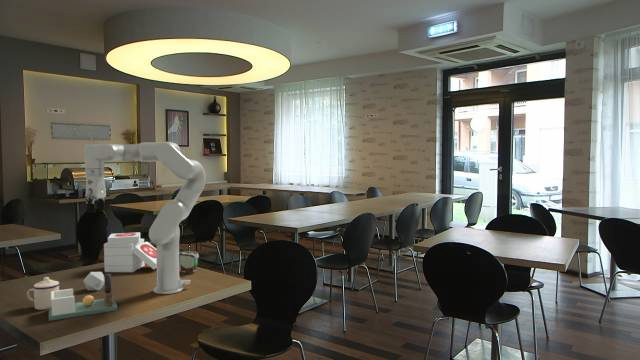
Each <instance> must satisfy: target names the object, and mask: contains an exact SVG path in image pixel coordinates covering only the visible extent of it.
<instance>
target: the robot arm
mask: <svg viewBox="0 0 640 360" xmlns="http://www.w3.org/2000/svg"><path fill="white" fill-rule="evenodd" d="M181 152H182V151H181V148H180V146H179V145H178V144H177V143H175V142H172V141H162V142H159V141H158V142H157V141H156V142H155V141H154V142H153V141H152V142H149V141H148V142H140V143H135V144H133V143H131V144H119V143H118V144H117V143H103V144H86V145H85V146H84V172H85V173H84V174H85V177H86V178H85V179H86V180H85V193H84V194H85V195H84V196H85V201H86V202H85V203H86V213H88V214H94V213H96V211H105V209H106V208H105V205H106V204H105V203H106V202H105V201H106V200H105V198H106V196H107V187H106V179H105V161H106V162H126V161H127V162H131V161H132V162H135V161H136V162H142V163H144V162H145V163H147V162H148V163H149V162H150V163H154V162H155V163H156V162H157V163H159V162H160V163H161V164H163V166H164V167H166V168H167V169H168V170H169V172H171V173H172V174H173V175H174V176H176V177H177V178H179V179H181V180H185V183H184V184H183V185H182V186H181V188H180V190H179V192H178V193H177V194H176V196H175V198H174V199H173V200H170V201H168V202H166V203H165V204H164V205H163V207H162V208H161V209H160V211H159V213H158V214H157V216H156V218H155V220H154V221H153V222H152V225H150V228H149V231H148V238H149V240H150V242H151V243H153V244H155V245H156V247H155V248H156V263H157V268H156V287H154V288H153V289H152V290H153V293H154V294H158V295H171V294H175V293H180V292H181V291H183V290H184V286H185V285H190V284H191V279H186V278H185V279H181V278H180V259H179V252H180V237H181V230H180V226H179V225H180V223H181V222H182V221H184V220H186V219H187V218H188V217H189V215H190V213H191V212H192V209H193V208H194V206H195V205H196V203H197V201H198V200H199V198H200V196H201V194H202V192H203V191H204V189H205V186H206V183H207V182H206V181H207V175H206V170H205V168H204V166H203V165H202V164H201V163H200V162H199V161H198V160H195V159H188V158H186V157H185V155H184V154H182V153H181ZM95 200H97V201H96V204H95Z"/></svg>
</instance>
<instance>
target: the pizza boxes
mask: <svg viewBox="0 0 640 360" xmlns="http://www.w3.org/2000/svg"><path fill="white" fill-rule="evenodd" d="M156 248H157V247H154V246H153V244H151V243H150V242H148V241H145V238H141V232H140V231H139V232H137V231H136V232H121V233H118V232H117V233H111V234H110V235H109V236H108V237H107V242H105V243H103V254H104V255H103V259H104V260H103V262H104V273H134V272H136V271H138V270H140V269H141V268H143V267H145V266H146V265H147V266H149V267H150V268H151V269H152V270H155V269H157V263H156ZM145 264H146V265H145ZM137 269H138V270H137Z"/></svg>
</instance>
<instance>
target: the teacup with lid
mask: <svg viewBox="0 0 640 360" xmlns="http://www.w3.org/2000/svg"><path fill="white" fill-rule="evenodd" d="M42 279H43V280H40V281H39V282H37V283H34V285H33V286H32V287H33V288H30V289H28V291H27V292H26V295H27V299H28V300H29V301H31V302H34V309H35V310H38V311H39V310H41V311H42V310H44V311H45V310H49V307H50V306H51V291H58V290H60V284H61V283H60V282H59V281H58V280H54V279H50V277H49V276H45V277H43V278H42ZM32 291H33V296H34V297H32V296H31V292H32Z"/></svg>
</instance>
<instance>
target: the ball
mask: <svg viewBox="0 0 640 360" xmlns="http://www.w3.org/2000/svg"><path fill="white" fill-rule="evenodd" d="M94 300H95V297H94V296H93V295H91V294H90V295H89V294H88V295H85V296H84V297H83V298H82V302H83V304H84V305H86V306H90V305H92V304H93V303H94Z"/></svg>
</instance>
